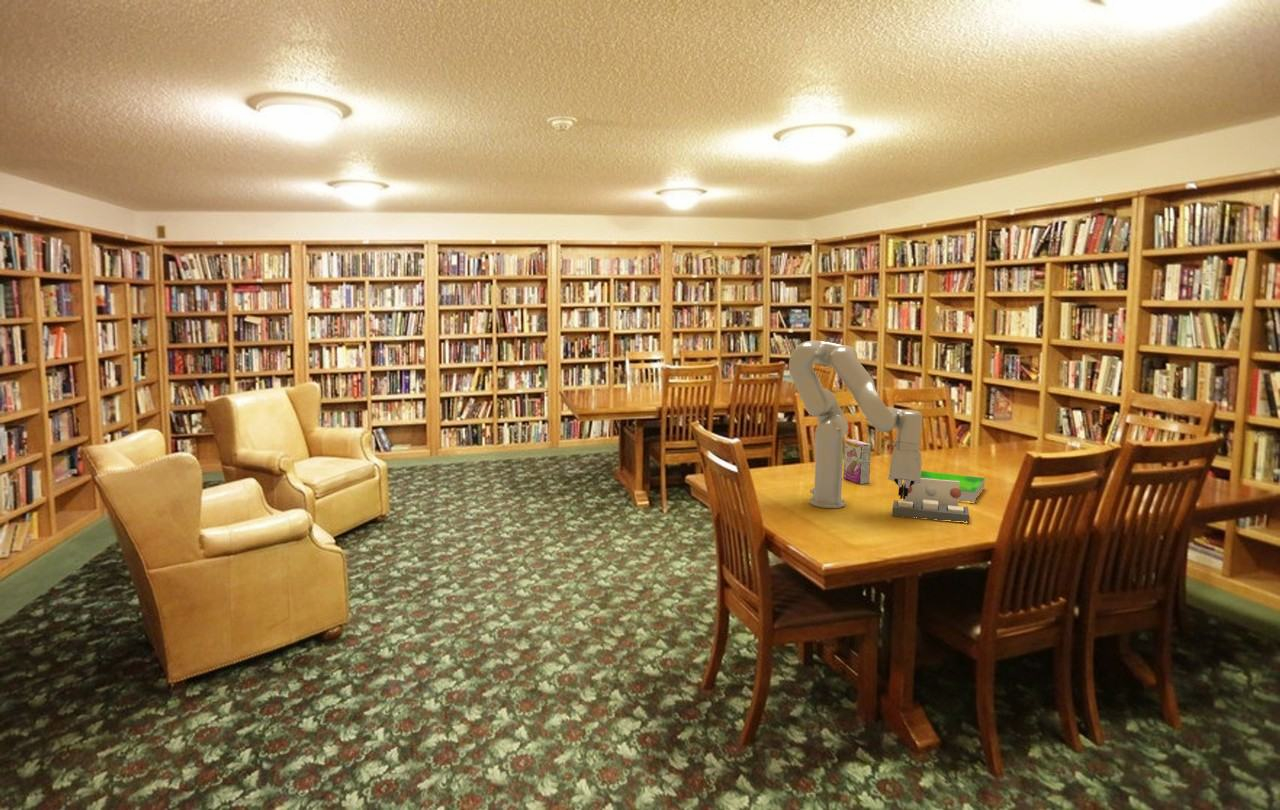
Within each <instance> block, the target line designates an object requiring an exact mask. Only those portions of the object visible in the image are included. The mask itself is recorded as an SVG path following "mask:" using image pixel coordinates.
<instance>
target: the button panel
mask: <svg viewBox="0 0 1280 810" xmlns="http://www.w3.org/2000/svg"><path fill="white" fill-rule="evenodd" d="M906 482H907V480H903V483H904V485H903V486H905V484H906ZM959 483H960V482H959V481H949V480H937V479H925V478H921V483H918V484H913V485H911V486H910V487H909V488H908V495H907V496H905V499H903V498H902V501H906V502H913V508H909V507H899V506H898V501H899V500H898V499H897V500H896V499H894V500H893V504H892V508H891V509H892V515H891V517H896V516H904V517H903V518H906V517H915V518H914V519H916V517H917V518H927V519H937V520H951V521H964V522H966V521H967V522H969V523H970V513H969V507H968V506H960V507H963V509H964V513H961V512H950V511H948V505H949V506H959V502H958V499H959V497H960V496H961V490H960V489H959ZM903 491H904V487H903ZM923 500H933V501H938V510H930V509H923Z"/></svg>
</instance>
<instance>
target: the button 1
mask: <svg viewBox="0 0 1280 810" xmlns="http://www.w3.org/2000/svg"><path fill="white" fill-rule="evenodd" d="M897 501H898V506H899V507H909V508H913V502H906V501H903V500H897Z"/></svg>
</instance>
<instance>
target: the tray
mask: <svg viewBox="0 0 1280 810" xmlns="http://www.w3.org/2000/svg"><path fill="white" fill-rule="evenodd" d="M920 478H925V479H937V480H949V481H959V482H960V483H959V489H960V490H961V496H960V497H959V499H958V500H960V501H970V502H974V501H975V500H976V498H977V497H978V495H979V494H980V493H981V491H982V490H983V488H984V489H985V479H986V478H985V477H979V476H972V475H971V476H969V475H962V474H961V475H960V474H953V473H946V472H945V473H943V472H937V471H930V470H929V471H927V470H921V477H920ZM902 484H903V485H904V482H902ZM983 491H984V490H983ZM981 494H982V493H981ZM978 498H979V497H978ZM976 501H977V500H976Z"/></svg>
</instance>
